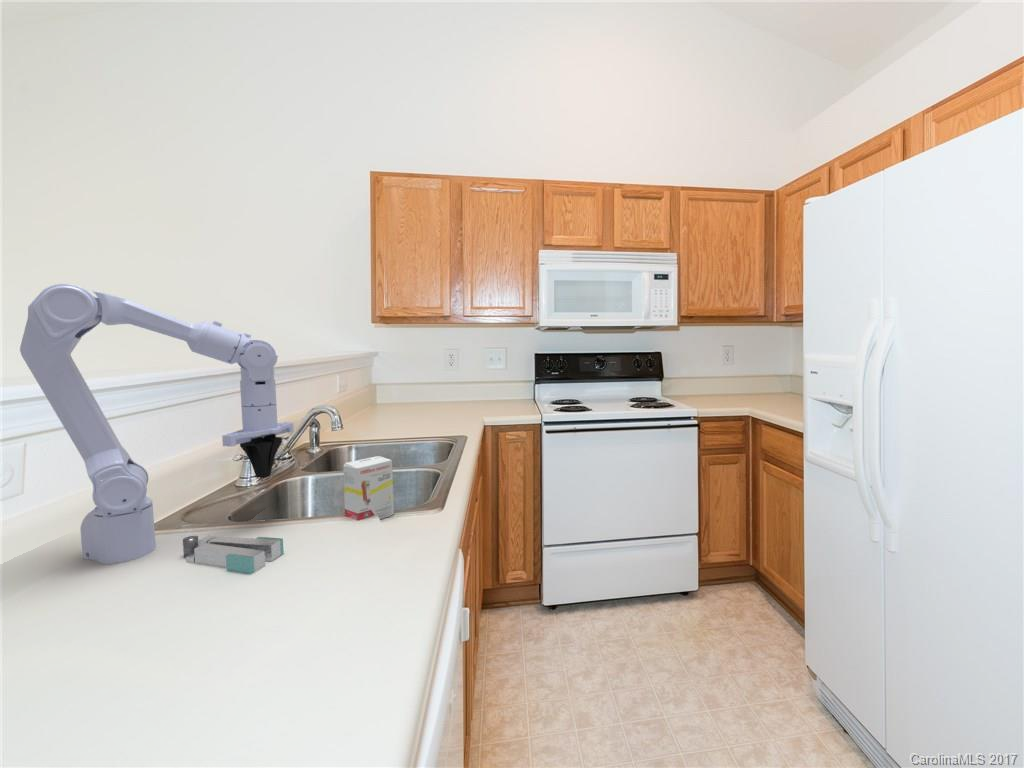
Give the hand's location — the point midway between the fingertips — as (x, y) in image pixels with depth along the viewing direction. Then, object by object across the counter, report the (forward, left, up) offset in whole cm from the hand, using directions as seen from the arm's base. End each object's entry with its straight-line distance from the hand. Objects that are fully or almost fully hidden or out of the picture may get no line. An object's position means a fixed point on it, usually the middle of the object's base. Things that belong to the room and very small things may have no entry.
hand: (263, 476), depth 85 cm
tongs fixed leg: (+6, -15, -9) cm, 18 cm away
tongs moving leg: (+7, -12, -9) cm, 16 cm away
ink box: (+16, +10, -11) cm, 22 cm away
